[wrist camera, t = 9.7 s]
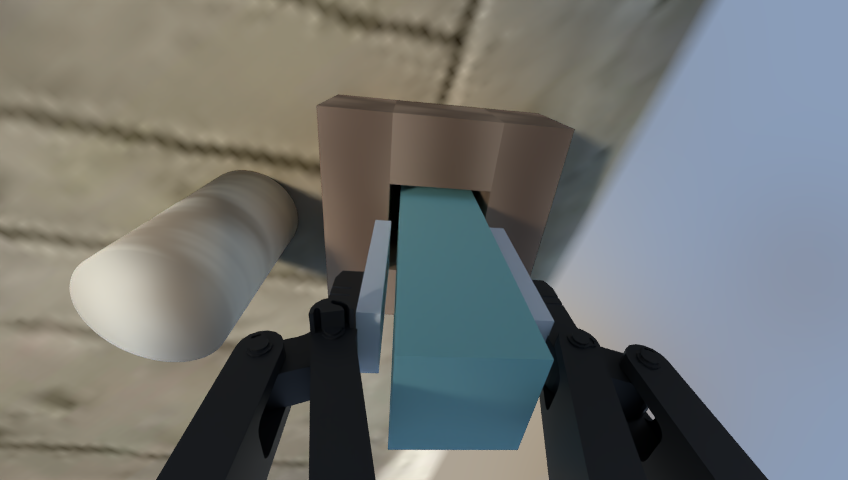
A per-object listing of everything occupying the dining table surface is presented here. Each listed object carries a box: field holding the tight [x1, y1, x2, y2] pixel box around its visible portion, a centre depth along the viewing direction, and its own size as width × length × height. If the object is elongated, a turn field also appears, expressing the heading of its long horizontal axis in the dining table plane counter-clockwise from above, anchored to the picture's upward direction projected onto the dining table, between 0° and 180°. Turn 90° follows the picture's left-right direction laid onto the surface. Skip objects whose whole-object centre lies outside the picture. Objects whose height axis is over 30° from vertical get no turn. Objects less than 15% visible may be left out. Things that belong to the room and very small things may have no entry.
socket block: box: [317, 95, 574, 315], centre depth 20 cm, size 12×12×5 cm
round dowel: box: [70, 170, 298, 362], centre depth 18 cm, size 6×6×10 cm
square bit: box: [388, 185, 554, 450], centre depth 15 cm, size 4×4×14 cm
